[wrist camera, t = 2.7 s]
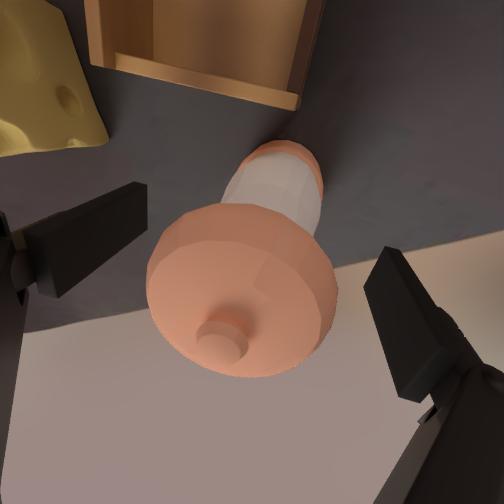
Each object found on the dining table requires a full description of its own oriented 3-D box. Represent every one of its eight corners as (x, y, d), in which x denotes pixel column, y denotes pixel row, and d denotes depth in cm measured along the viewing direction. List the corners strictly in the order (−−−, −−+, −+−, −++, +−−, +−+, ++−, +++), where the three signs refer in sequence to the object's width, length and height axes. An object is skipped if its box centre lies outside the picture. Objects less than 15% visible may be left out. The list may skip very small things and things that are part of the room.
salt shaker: (311, 226, 25) (315, 450, 9) (238, 213, 26) (118, 396, 10) (331, 146, 22) (400, 276, 5) (245, 133, 22) (71, 213, 6)
